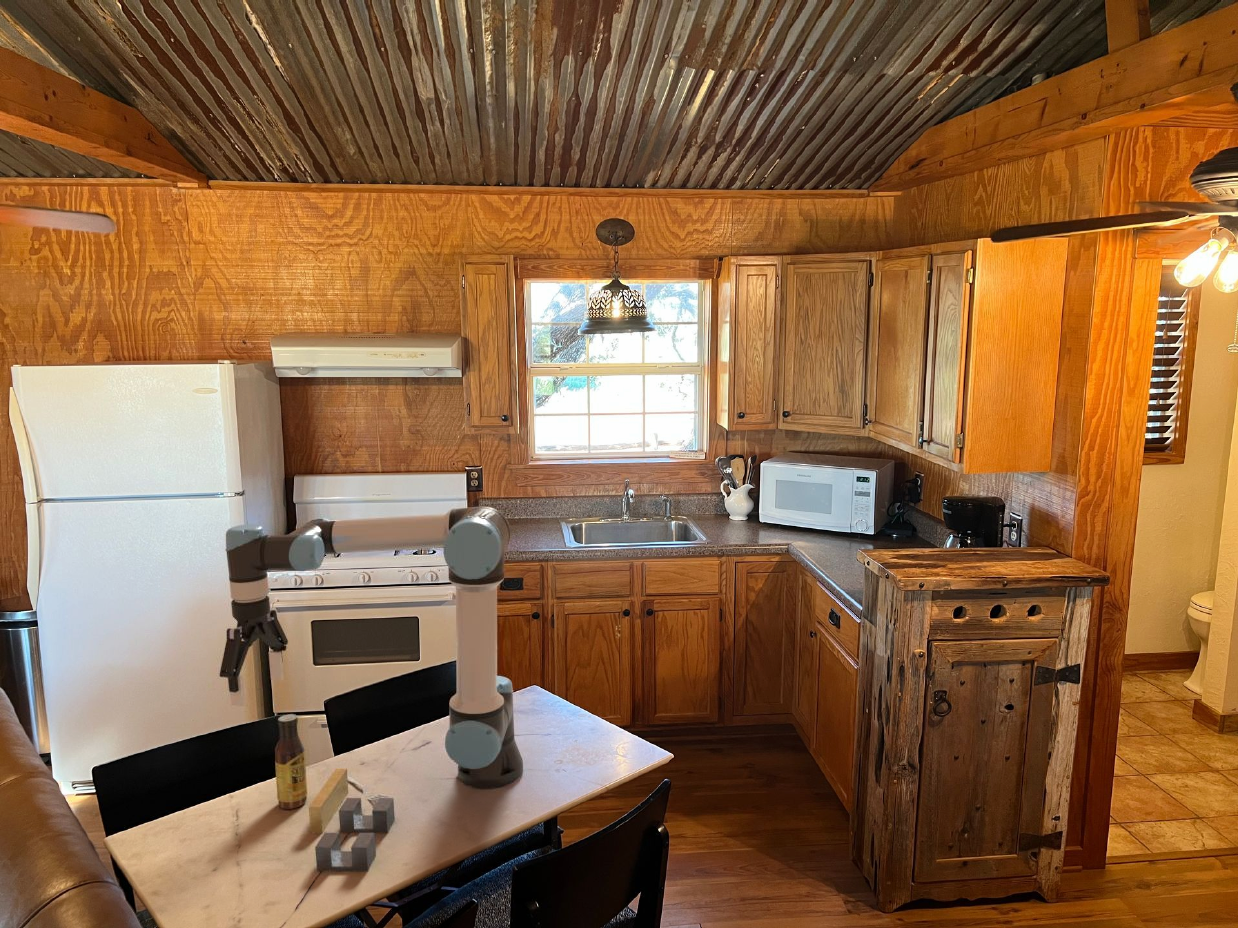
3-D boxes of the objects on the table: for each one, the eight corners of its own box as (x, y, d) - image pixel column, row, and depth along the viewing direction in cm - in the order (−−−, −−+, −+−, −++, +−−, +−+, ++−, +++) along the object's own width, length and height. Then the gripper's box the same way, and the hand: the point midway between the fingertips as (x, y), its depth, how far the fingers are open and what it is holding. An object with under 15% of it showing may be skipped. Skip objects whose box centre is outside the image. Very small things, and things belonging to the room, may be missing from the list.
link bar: (348, 793, 200) (346, 768, 200) (322, 833, 185) (320, 806, 184) (337, 793, 201) (335, 768, 200) (310, 833, 185) (308, 806, 184)
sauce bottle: (298, 811, 193) (291, 725, 190) (272, 809, 194) (264, 723, 191) (314, 796, 199) (307, 712, 196) (289, 793, 200) (282, 710, 197)
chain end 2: (376, 855, 176) (374, 832, 175) (368, 871, 171) (366, 847, 170) (326, 855, 177) (324, 832, 176) (317, 870, 172) (315, 847, 171)
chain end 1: (394, 819, 189) (393, 797, 188) (387, 832, 184) (386, 810, 183) (348, 819, 189) (346, 797, 189) (340, 832, 184) (338, 810, 184)
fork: (337, 766, 213) (336, 759, 213) (390, 802, 197) (389, 795, 196) (324, 771, 211) (324, 764, 211) (377, 808, 194) (376, 801, 194)
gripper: (270, 580, 202) (277, 668, 205) (194, 615, 178) (204, 714, 181) (299, 581, 200) (306, 671, 203) (226, 617, 176) (236, 718, 179)
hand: (258, 691), depth 192 cm, fingers open, 13 cm apart
